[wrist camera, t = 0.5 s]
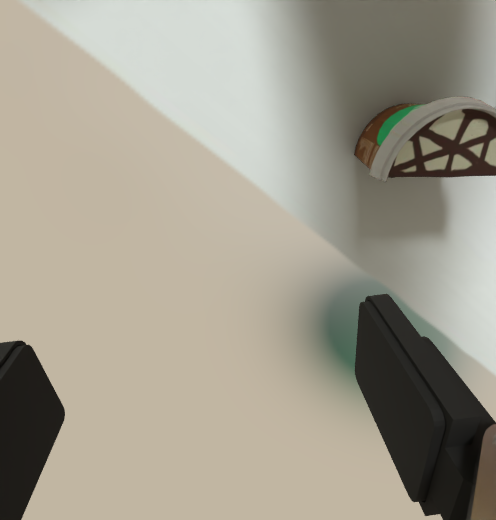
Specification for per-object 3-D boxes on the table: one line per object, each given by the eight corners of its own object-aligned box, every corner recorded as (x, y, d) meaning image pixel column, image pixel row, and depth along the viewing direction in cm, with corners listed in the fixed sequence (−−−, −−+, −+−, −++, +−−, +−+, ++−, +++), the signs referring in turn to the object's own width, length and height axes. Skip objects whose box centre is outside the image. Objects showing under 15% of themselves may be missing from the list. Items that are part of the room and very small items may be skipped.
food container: (469, 90, 35) (554, 98, 26) (452, 153, 38) (522, 179, 29) (348, 90, 34) (395, 98, 25) (340, 155, 37) (378, 182, 28)
